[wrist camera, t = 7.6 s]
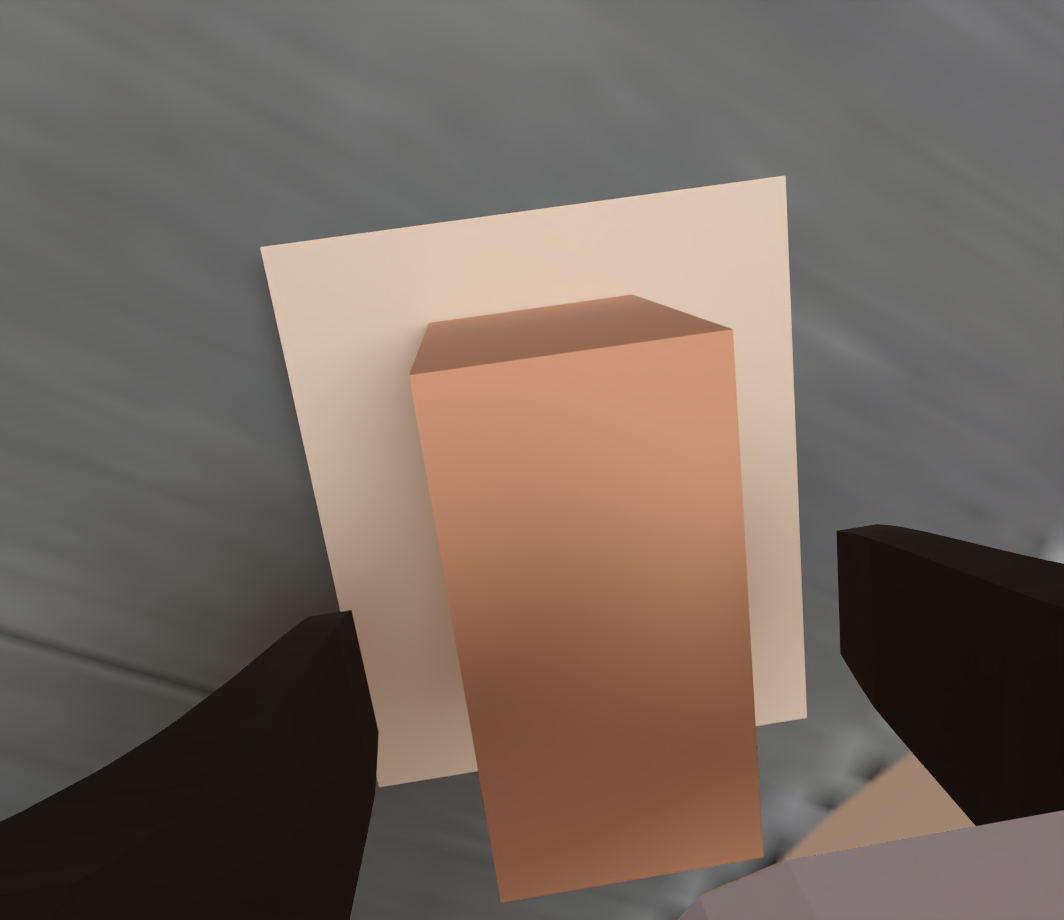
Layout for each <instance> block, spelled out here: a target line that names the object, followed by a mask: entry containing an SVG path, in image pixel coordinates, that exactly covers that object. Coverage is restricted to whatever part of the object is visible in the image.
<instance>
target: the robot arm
mask: <svg viewBox="0 0 1064 920" xmlns="http://www.w3.org/2000/svg"><path fill="white" fill-rule="evenodd" d="M837 557H838V588H839V620H840V651H841V655H842V657H843V659H844V660H845V662H846V663H847V665H848V667H849V668H850V670H851V672H852V673H853V675H854V677H855V678H856V680H857V682H858V683H859V685H860V686H861V688H862V689H863V691H864V693H865V694H866V696H867V697H868V699H869V700H870V702H871V703H872V705H873V706H874V708H875V709H876V710H877V711H878V712H879V714H880V715H881V716H882V717H883V719H884V720H885V721H886V722H887V723H888V725H889V726H890V727H891V728H892V729H893V730H894V732H895V733H896V734H897V735H898V736H899V738H900V739H901V740H902V741H903V742H904V743H905V745H906V746H907V747H908V748H909V749H910V750H911V752H912V753H913V754H914V755H915V756H916V757H917V759H918V760H919V761H920V762H921V763H922V764H923V765H924V767H925V768H926V769H927V770H928V771H929V772H930V774H932V776H933V777H934V778H935V779H936V780H937V782H938V783H939V784H940V785H941V786H942V787H943V788H944V790H945V791H946V792H947V793H948V794H949V795H950V797H951V798H952V799H953V800H954V801H955V802H956V803H957V805H958V806H959V807H960V808H961V809H962V811H963V812H964V813H965V814H966V815H967V816H968V817H969V819H970V820H971V821H972V822H973V823H974V824H975V827H969V828H963V829H958V830H952V831H947V832H941V833H936V834H931V835H925V836H919V837H914V838H908V839H902V840H897V841H891V842H886V843H881V844H875V845H870V846H864V847H859V848H853V849H847V850H842V851H836V852H831V853H825V854H820V855H814V856H809V857H803V858H798V859H792V860H786V861H781V862H778V863H776V864H774V865H771V866H769V867H766V868H764V869H761V870H759V871H756V872H754V873H752V874H749V875H747V876H744V877H742V878H739V879H737V880H735V881H732V882H730V883H727V884H725V885H722V886H720V887H717V888H715V889H713V890H710V891H708V892H705V893H703V894H702V895H701V896H699V897H698V899H697V900H696V901H695V902H694V903H693V904H692V905H691V906H690V907H689V908H688V909H687V910H686V912H685V913H684V914H683V915H682V916H681V917H680V918H679V919H678V920H1064V564H1062V563H1057V562H1052V561H1047V560H1043V559H1038V558H1034V557H1029V556H1025V555H1020V554H1016V553H1012V552H1008V551H1003V550H999V549H995V548H991V547H987V546H982V545H978V544H974V543H970V542H966V541H962V540H958V539H954V538H949V537H945V536H941V535H937V534H932V533H928V532H924V531H919V530H914V529H909V528H904V527H898V526H891V525H879V524H876V525H870V526H864V527H858V528H852V529H845V530H839V531H837ZM378 736H379V731H378V727H377V722H376V718H375V713H374V709H373V704H372V700H371V695H370V691H369V686H368V682H367V677H366V673H365V668H364V664H363V659H362V655H361V650H360V646H359V641H358V637H357V632H356V628H355V623H354V619H353V614H352V610H348V611H342V612H336V613H330V614H324V615H318V616H312V617H308V618H307V619H305V620H303V621H302V622H300V623H299V624H298V625H296V626H295V627H294V628H292V629H291V630H290V631H289V632H287V633H286V634H285V635H284V636H282V637H281V638H280V639H279V640H278V641H276V642H275V643H274V644H273V645H272V646H270V647H269V648H268V649H267V650H266V651H264V652H263V653H262V654H261V655H260V656H258V657H257V658H256V659H255V660H254V661H252V662H251V663H250V664H249V665H248V666H246V667H245V668H244V669H243V670H241V671H240V672H239V673H238V674H237V675H235V676H234V677H233V678H232V679H231V680H229V681H228V682H227V683H226V684H224V685H223V686H222V687H220V688H219V689H218V690H216V691H215V692H214V693H212V694H211V695H210V696H208V697H207V698H206V699H204V700H203V701H202V702H201V703H199V704H198V705H197V706H195V707H194V708H193V709H191V710H190V711H189V712H187V713H186V714H185V715H183V716H182V717H181V718H179V719H178V720H177V721H175V722H174V723H172V724H171V725H170V726H168V727H167V728H165V729H164V730H162V731H161V732H159V733H158V734H156V735H155V736H153V737H152V738H150V739H149V740H147V741H146V742H144V743H143V744H141V745H140V746H138V747H136V748H135V749H133V750H132V751H130V752H128V753H127V754H125V755H123V756H122V757H120V758H119V759H117V760H115V761H114V762H112V763H111V764H109V765H107V766H106V767H104V768H102V769H100V770H99V771H97V772H95V773H93V774H91V775H90V776H88V777H86V778H84V779H82V780H80V781H78V782H76V783H75V784H73V785H71V786H69V787H67V788H65V789H63V790H61V791H60V792H58V793H56V794H54V795H52V796H50V797H48V798H46V799H45V800H43V801H41V802H39V803H37V804H35V805H33V806H31V807H30V808H28V809H26V810H24V811H22V812H20V813H18V814H16V815H14V816H12V817H10V818H7V819H5V820H3V821H1V822H0V920H350V915H351V910H352V905H353V900H354V895H355V890H356V886H357V881H358V876H359V871H360V866H361V861H362V857H363V852H364V847H365V842H366V837H367V832H368V827H369V822H370V817H371V812H372V807H373V801H374V796H375V786H376V773H377V756H378Z"/></svg>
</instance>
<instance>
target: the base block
mask: <svg viewBox="0 0 1064 920" xmlns="http://www.w3.org/2000/svg"><path fill="white" fill-rule="evenodd" d="M260 248H261V253H262V258H263V262H264V267H265V271H266V276H267V280H268V285H269V289H270V294H271V298H272V303H273V308H274V312H275V317H276V321H277V326H278V330H279V335H280V339H281V344H282V349H283V353H284V358H285V362H286V367H287V371H288V376H289V380H290V385H291V389H292V394H293V399H294V403H295V408H296V412H297V417H298V421H299V426H300V430H301V435H302V439H303V444H304V449H305V453H306V458H307V462H308V467H309V471H310V476H311V480H312V485H313V489H314V494H315V499H316V503H317V508H318V512H319V517H320V521H321V526H322V530H323V535H324V539H325V544H326V549H327V553H328V558H329V562H330V567H331V571H332V576H333V580H334V585H335V589H336V594H337V599H338V603H339V608H340V612H342V611H348V610H352V614H353V619H354V623H355V628H356V632H357V637H358V641H359V646H360V650H361V655H362V659H363V664H364V668H365V673H366V677H367V682H368V686H369V691H370V695H371V700H372V704H373V709H374V713H375V718H376V722H377V727H378V731H379V736H378V756H377V773H376V776H377V780H378V785H379V787H384V786H390V785H396V784H403V783H409V782H415V781H421V780H427V779H433V778H439V777H446V776H452V775H458V774H464V773H470V772H476V771H478V767H477V762H476V756H475V750H474V744H473V739H472V733H471V727H470V722H469V716H468V710H467V704H466V699H465V693H464V687H463V682H462V676H461V670H460V664H459V659H458V653H457V647H456V642H455V636H454V630H453V624H452V619H451V613H450V607H449V602H448V596H447V590H446V585H445V579H444V573H443V567H442V562H441V556H440V550H439V545H438V539H437V533H436V527H435V522H434V516H433V510H432V504H431V499H430V493H429V487H428V482H427V476H426V470H425V465H424V459H423V453H422V447H421V442H420V436H419V430H418V425H417V419H416V413H415V407H414V402H413V396H412V390H411V385H410V379H409V374H410V371H411V369H412V366H413V363H414V361H415V358H416V356H417V353H418V350H419V348H420V345H421V343H422V340H423V338H424V335H425V332H426V330H427V327H428V325H429V323H432V322H439V321H446V320H453V319H461V318H468V317H475V316H482V315H489V314H496V313H504V312H511V311H518V310H525V309H532V308H539V307H547V306H554V305H561V304H568V303H575V302H582V301H590V300H597V299H604V298H611V297H618V296H625V295H636V296H638V297H641V298H644V299H647V300H650V301H653V302H656V303H659V304H662V305H664V306H667V307H670V308H673V309H676V310H679V311H682V312H685V313H688V314H690V315H693V316H696V317H699V318H702V319H705V320H708V321H711V322H714V323H716V324H719V325H722V326H725V327H728V328H731V329H733V339H734V356H735V374H736V391H737V408H738V426H739V443H740V461H741V478H742V495H743V513H744V530H745V548H746V565H747V583H748V600H749V617H750V635H751V652H752V670H753V687H754V704H755V722H756V726H759V725H765V724H772V723H778V722H784V721H790V720H796V719H802V718H807V708H806V683H805V658H804V633H803V607H802V582H801V557H800V531H799V506H798V481H797V455H796V430H795V405H794V380H793V354H792V329H791V304H790V278H789V253H788V228H787V202H786V177H785V176H779V177H772V178H765V179H757V180H750V181H743V182H735V183H728V184H721V185H713V186H706V187H699V188H691V189H684V190H677V191H669V192H662V193H655V194H647V195H640V196H633V197H625V198H618V199H611V200H603V201H596V202H589V203H581V204H574V205H567V206H559V207H552V208H545V209H537V210H530V211H523V212H515V213H508V214H501V215H493V216H486V217H478V218H471V219H464V220H456V221H449V222H442V223H434V224H427V225H420V226H412V227H405V228H398V229H390V230H383V231H376V232H368V233H361V234H354V235H346V236H339V237H332V238H324V239H317V240H310V241H302V242H295V243H288V244H280V245H273V246H266V247H260Z"/></svg>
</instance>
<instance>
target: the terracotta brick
mask: <svg viewBox="0 0 1064 920" xmlns="http://www.w3.org/2000/svg"><path fill="white" fill-rule="evenodd" d="M409 379H410V385H411V390H412V396H413V402H414V407H415V413H416V419H417V425H418V430H419V436H420V442H421V447H422V453H423V459H424V465H425V470H426V476H427V482H428V487H429V493H430V499H431V504H432V510H433V516H434V522H435V527H436V533H437V539H438V545H439V550H440V556H441V562H442V567H443V573H444V579H445V585H446V590H447V596H448V602H449V607H450V613H451V619H452V624H453V630H454V636H455V642H456V647H457V653H458V659H459V664H460V670H461V676H462V682H463V687H464V693H465V699H466V704H467V710H468V716H469V722H470V727H471V733H472V739H473V744H474V750H475V756H476V762H477V767H478V773H479V779H480V784H481V790H482V796H483V802H484V807H485V813H486V819H487V824H488V830H489V836H490V842H491V847H492V853H493V859H494V864H495V870H496V876H497V882H498V887H499V893H500V899H501V903H503V902H508V901H514V900H520V899H526V898H532V897H537V896H543V895H549V894H555V893H560V892H566V891H572V890H578V889H584V888H589V887H595V886H601V885H607V884H612V883H618V882H624V881H630V880H636V879H641V878H647V877H653V876H659V875H664V874H670V873H676V872H682V871H688V870H693V869H699V868H705V867H711V866H716V865H722V864H728V863H734V862H740V861H745V860H751V859H757V858H763V844H762V826H761V809H760V791H759V774H758V757H757V739H756V722H755V704H754V687H753V670H752V652H751V635H750V617H749V600H748V583H747V565H746V548H745V530H744V513H743V495H742V478H741V461H740V443H739V426H738V408H737V391H736V374H735V356H734V339H733V329H731V328H728V327H725V326H722V325H719V324H716V323H714V322H711V321H708V320H705V319H702V318H699V317H696V316H693V315H690V314H688V313H685V312H682V311H679V310H676V309H673V308H670V307H667V306H664V305H662V304H659V303H656V302H653V301H650V300H647V299H644V298H641V297H638V296H636V295H625V296H618V297H611V298H604V299H597V300H590V301H582V302H575V303H568V304H561V305H554V306H547V307H539V308H532V309H525V310H518V311H511V312H504V313H496V314H489V315H482V316H475V317H468V318H461V319H453V320H446V321H439V322H432V323H429V325H428V327H427V330H426V332H425V335H424V338H423V340H422V343H421V345H420V348H419V350H418V353H417V356H416V358H415V361H414V363H413V366H412V369H411V371H410V374H409Z"/></svg>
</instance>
